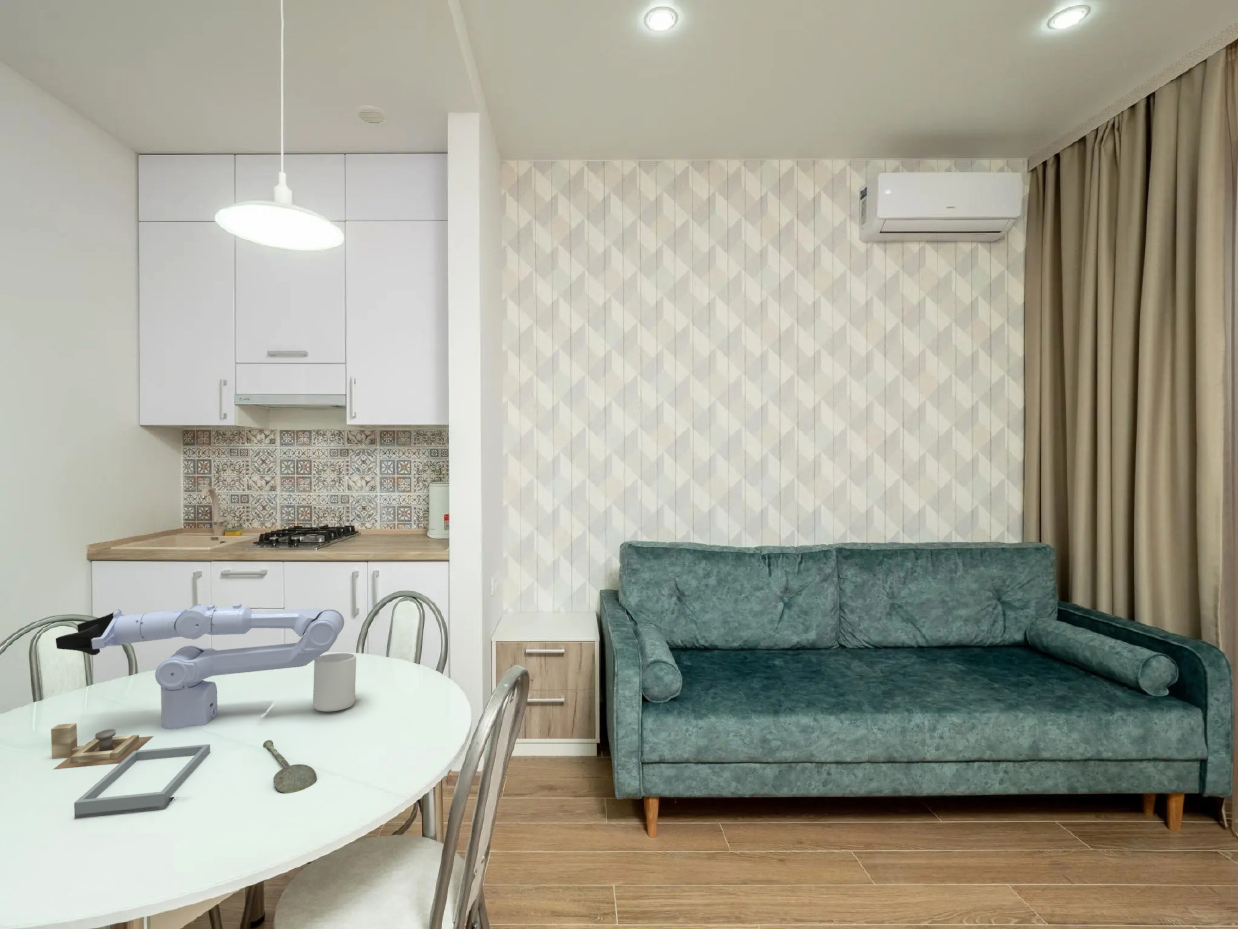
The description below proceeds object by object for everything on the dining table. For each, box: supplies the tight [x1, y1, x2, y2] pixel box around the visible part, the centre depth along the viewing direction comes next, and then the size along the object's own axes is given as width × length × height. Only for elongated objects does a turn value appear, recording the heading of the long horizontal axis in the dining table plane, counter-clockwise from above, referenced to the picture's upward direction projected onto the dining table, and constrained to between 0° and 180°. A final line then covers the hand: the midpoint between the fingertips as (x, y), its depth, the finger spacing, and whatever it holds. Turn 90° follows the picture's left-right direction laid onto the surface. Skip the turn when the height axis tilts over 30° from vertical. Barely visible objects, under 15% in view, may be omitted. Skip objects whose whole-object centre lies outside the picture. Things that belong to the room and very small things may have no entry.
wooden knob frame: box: [50, 722, 140, 763], centre depth 121 cm, size 12×8×6 cm, turn 102°
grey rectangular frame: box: [73, 743, 211, 819], centre depth 111 cm, size 13×18×2 cm
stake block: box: [53, 728, 154, 770], centre depth 121 cm, size 11×11×5 cm
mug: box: [312, 652, 357, 712], centre depth 146 cm, size 9×12×11 cm
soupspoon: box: [262, 739, 318, 795], centre depth 117 cm, size 22×3×7 cm
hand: (68, 636), depth 129 cm, fingers open, 7 cm apart
